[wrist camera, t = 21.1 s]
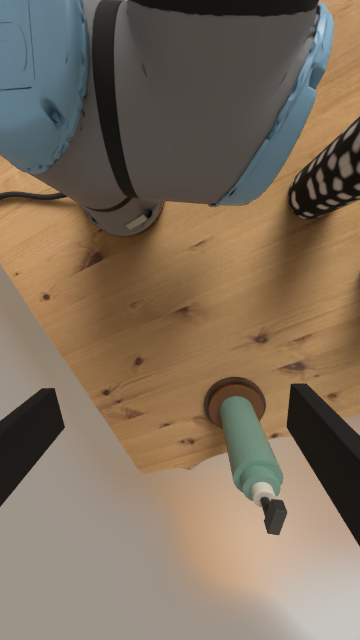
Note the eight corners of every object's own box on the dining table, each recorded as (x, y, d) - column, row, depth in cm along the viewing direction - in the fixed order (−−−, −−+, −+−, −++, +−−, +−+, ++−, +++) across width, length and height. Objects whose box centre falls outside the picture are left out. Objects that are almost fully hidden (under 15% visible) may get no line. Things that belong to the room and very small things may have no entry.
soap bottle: (256, 432, 43) (311, 570, 23) (204, 425, 43) (216, 554, 24) (268, 387, 40) (343, 502, 20) (212, 380, 40) (232, 486, 20)
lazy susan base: (205, 426, 45) (205, 431, 44) (203, 377, 42) (203, 380, 41) (262, 426, 44) (264, 431, 43) (265, 376, 41) (267, 379, 40)
